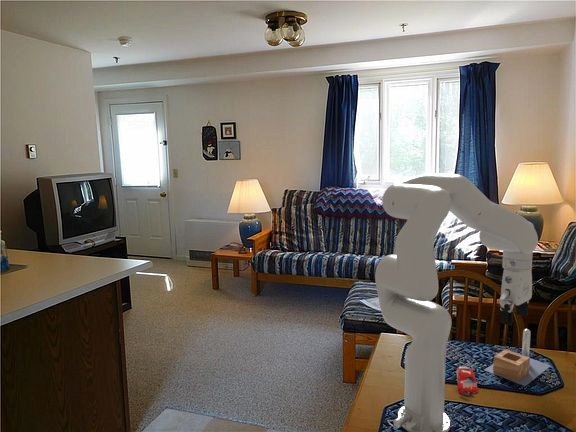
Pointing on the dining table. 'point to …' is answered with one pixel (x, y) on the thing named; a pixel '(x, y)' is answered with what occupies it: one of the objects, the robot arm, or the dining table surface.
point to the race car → (466, 381)
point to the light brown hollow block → (511, 365)
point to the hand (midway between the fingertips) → (514, 319)
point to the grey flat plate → (534, 371)
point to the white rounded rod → (526, 342)
